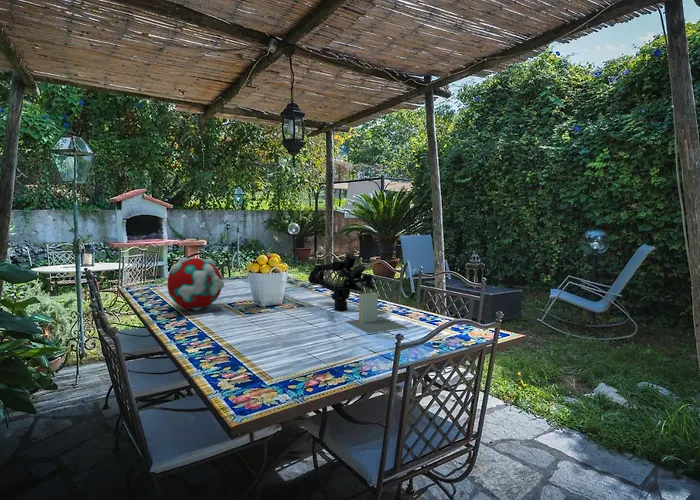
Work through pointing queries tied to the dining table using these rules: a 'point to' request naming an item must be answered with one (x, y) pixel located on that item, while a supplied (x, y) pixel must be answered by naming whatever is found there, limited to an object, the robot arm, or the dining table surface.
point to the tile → (368, 307)
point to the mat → (377, 325)
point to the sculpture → (194, 283)
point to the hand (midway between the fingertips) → (367, 289)
